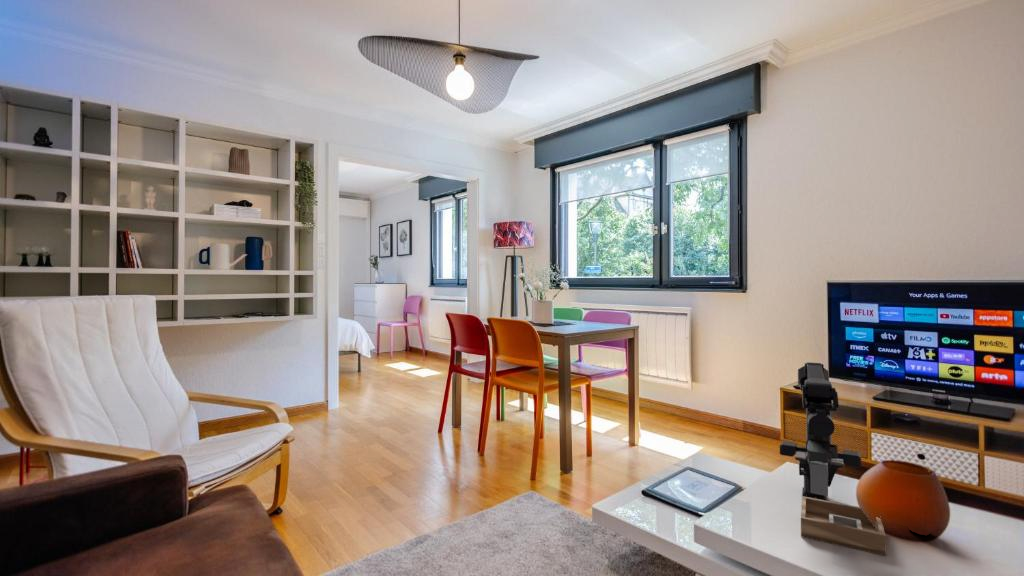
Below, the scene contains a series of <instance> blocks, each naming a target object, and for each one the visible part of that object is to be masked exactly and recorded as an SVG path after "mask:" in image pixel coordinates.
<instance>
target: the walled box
mask: <svg viewBox="0 0 1024 576" xmlns="http://www.w3.org/2000/svg"><path fill="white" fill-rule="evenodd" d="M860 507H861V506H856V505H850V504H845V503H841V502H835V501H829V500H824V499H819V498H813V497H808V496H803V495H802V496H801V508H800V509H801V510H800V537H801V538H805V539H809V540H813V541H819V542H822V543H829V544H833V545H836V546H839V547H840V546H841V547H845V548H849V549H853V550H859V551H862V552H867V553H871V554H876V555H879V556H880V555H881V556H885V557H886V556H887V539H886V537H887V536H886V532H885V528H884V525H883V522H882V519H880V518H881V517H880V518H878V517H876V521H875V526H873V524H872V523H871V522H870V521H869V520H868V518H867V517H866V515H865V514H864V513H863V511H862V509H861V508H860Z"/></svg>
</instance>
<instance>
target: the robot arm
mask: <svg viewBox="0 0 1024 576" xmlns="http://www.w3.org/2000/svg"><path fill="white" fill-rule="evenodd" d="M824 365H825V364H824V363H821V362H808V361H807V362H804V365H803V366H802V367H800V368H798V369H797V385H800V386H799V387H800V388H799V389H800V391H801V393H802V395H801V397H802V399H801V400H802V408H803V409H805V412H806V414H805V416H806V417H805V418H806V421H805V422H806V423H805V424H806V425H805V427H806V430H805V431H806V442H805V444H804V446H798V442H796V441H789V440H783V441H781V442H780V444H779V455H781V456H786V457H794V456H795V457H794V458H795V459H794V460H795V461H798V473H799V474H798V475H799V476H803V487H802V492H801V493H802V494H801V495H802V496H804V497H809V498H814V499H820V500H825V501H828V500H827V496H824V495H819V494H814V493H811V489H810V461H818V462H822V463H828V488H830V487H831V486H832V485H831V484H832V482H833V480H834V477H835V475H836V473H837V471H838V470H839V468H842V469H843V468H845V465H846V466H847V467H848V466H849V467H854V468H862V456H861V453H860V451H856V450H850V449H849V450H848V449H842V452H838V451H839V450H838V445H837V444H832V435H833V434H834V432H835V429H836V428H835V424H834V421H833V418H832V412H837V411H838V410H837V408H839V406H840V405H839V397H838V391H837V390H836V389H837V388H835V387H833V385H832V382H831V381H830V374H829V373H830V371H829V370H828V369H827V368H825V367H824Z"/></svg>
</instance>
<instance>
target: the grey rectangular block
mask: <svg viewBox="0 0 1024 576" xmlns="http://www.w3.org/2000/svg"><path fill="white" fill-rule="evenodd" d="M810 489H811V493H814V494H819V495H824V496H826V497H829V487H828V463H822V462H818V461H810Z"/></svg>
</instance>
